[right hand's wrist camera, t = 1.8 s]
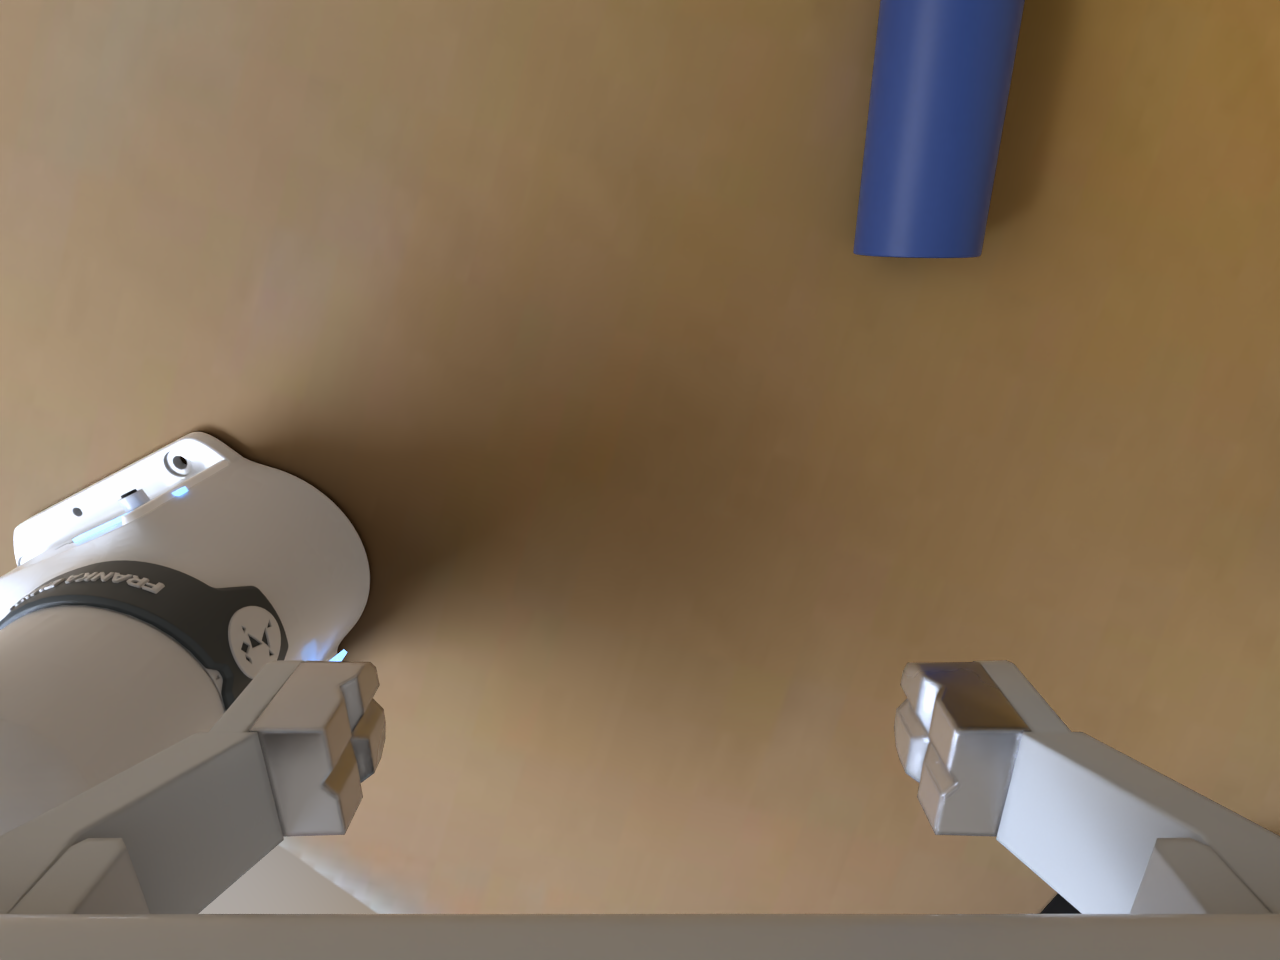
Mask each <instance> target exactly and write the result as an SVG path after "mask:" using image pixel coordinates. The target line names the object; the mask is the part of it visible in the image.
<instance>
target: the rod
mask: <svg viewBox="0 0 1280 960" xmlns="http://www.w3.org/2000/svg"><path fill="white" fill-rule="evenodd" d="M1024 2H1025V0H881V1H880V10H879V19H878V28H877V38H876V47H875V56H874V66H873V75H872V84H871V93H870V103H869V112H868V121H867V130H866V140H865V149H864V158H863V168H862V177H861V186H860V195H859V205H858V214H857V223H856V233H855V242H854V251H853V252H854V254H857V255H865V256H880V257H905V258H968V257H978V256H980V255H981V253H982V247H983V241H984V235H985V229H986V224H987V218H988V212H989V206H990V200H991V194H992V189H993V183H994V177H995V171H996V165H997V159H998V154H999V148H1000V142H1001V136H1002V130H1003V124H1004V119H1005V113H1006V107H1007V101H1008V95H1009V89H1010V84H1011V78H1012V72H1013V66H1014V60H1015V54H1016V49H1017V43H1018V37H1019V31H1020V25H1021V20H1022V14H1023V8H1024Z"/></svg>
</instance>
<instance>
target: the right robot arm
mask: <svg viewBox="0 0 1280 960" xmlns="http://www.w3.org/2000/svg"><path fill="white" fill-rule="evenodd" d="M180 456H182V457H183V458H185V459H186V461H187V465H186V464H184V463H183V462H182V461H181V459H180ZM14 553H15V558H16V563H17V566H18V567H16V568H15V569H13V570H11V571H9V572H8V573H6V574H4V575H3V576H1V577H0V960H1280V836H1278V835H1276V834H1275V833H1273V832H1271V831H1269V830H1267V829H1265V828H1263V827H1261V826H1259V825H1258V824H1256V823H1254V822H1252V821H1250V820H1248V819H1246V818H1244V817H1242V816H1240V815H1239V814H1237V813H1235V812H1233V811H1231V810H1229V809H1227V808H1225V807H1223V806H1222V805H1220V804H1218V803H1216V802H1214V801H1212V800H1210V799H1208V798H1206V797H1204V796H1203V795H1201V794H1199V793H1197V792H1195V791H1193V790H1191V789H1189V788H1187V787H1186V786H1184V785H1182V784H1180V783H1178V782H1176V781H1174V780H1172V779H1170V778H1168V777H1167V776H1165V775H1163V774H1161V773H1159V772H1157V771H1155V770H1153V769H1151V768H1150V767H1148V766H1146V765H1144V764H1142V763H1140V762H1138V761H1136V760H1134V759H1132V758H1131V757H1129V756H1127V755H1125V754H1123V753H1121V752H1119V751H1117V750H1115V749H1114V748H1112V747H1110V746H1108V745H1106V744H1104V743H1102V742H1100V741H1098V740H1096V739H1095V738H1093V737H1091V736H1089V735H1087V734H1085V733H1083V732H1071V731H1070V729H1069V728H1068V727H1067V726H1066V725H1065V724H1064V722H1063V721H1062V720H1061V719H1060V718H1059V716H1058V715H1057V714H1056V713H1055V712H1054V711H1053V709H1052V708H1051V707H1050V706H1049V705H1048V703H1047V702H1046V701H1045V700H1044V699H1043V698H1042V696H1041V695H1040V694H1039V693H1038V692H1037V690H1036V689H1035V688H1034V687H1033V686H1032V685H1031V683H1030V682H1029V681H1028V680H1027V679H1026V677H1025V676H1024V675H1023V674H1022V673H1021V672H1020V670H1019V669H1018V668H1017V667H1016V666H1015V665H1014V664H1013V663H1011V662H1009V661H1007V660H992V661H973V662H924V663H907V664H906V666H905V668H904V670H903V673H902V679H901V687H902V689H903V691H904V693H905V694H906V696H907V699H906V700H905V701H904V702H903V703H902V704H901V705H900V706H899V707H898V708H897V709H896V717H895V725H894V731H895V743H896V749H897V752H898V756H899V759H900V762H901V764H902V766H903V768H904V770H905V773H906V774H908V775H909V776H910V777H912V778H913V779H915V780H916V781H917V782H919V789H918V795H917V798H918V800H919V802H920V804H921V806H922V808H923V810H924V812H925V814H926V816H927V818H928V820H929V822H930V824H931V827H932V829H933V831H934V833H935V835H967V836H997V838H996V840H998V841H999V842H1000V843H1001V844H1002V845H1003V846H1005V847H1006V848H1007V849H1008V850H1009V851H1010V852H1011V853H1013V854H1014V855H1015V856H1016V857H1017V858H1018V859H1020V860H1021V861H1022V862H1023V863H1024V864H1025V865H1026V866H1028V867H1029V868H1030V869H1031V870H1032V871H1033V872H1034V873H1036V874H1037V875H1038V876H1039V877H1040V878H1041V879H1043V880H1044V881H1045V882H1046V883H1047V884H1048V885H1049V886H1051V887H1052V888H1053V889H1054V890H1055V891H1056V892H1058V893H1059V894H1060V895H1061V896H1062V897H1063V898H1064V899H1066V900H1067V901H1068V902H1069V903H1070V904H1071V905H1073V906H1074V907H1075V908H1076V909H1077V910H1078V911H1079V912H1081V913H1082V914H198V913H200V912H201V911H202V910H203V909H204V908H205V907H206V906H208V905H209V904H210V903H211V902H212V901H213V900H215V899H216V898H217V897H218V896H219V895H220V894H221V893H223V892H224V891H225V890H226V889H227V888H228V887H230V886H231V885H232V884H233V883H234V882H235V881H237V880H238V879H239V878H240V877H241V876H242V875H243V874H245V873H246V872H247V871H248V870H249V869H250V868H251V867H253V866H254V865H255V864H256V863H257V862H258V861H260V860H261V859H262V858H263V857H264V856H265V855H267V854H268V853H269V852H270V851H271V850H272V849H274V848H275V847H276V846H277V845H278V844H279V843H280V842H282V841H283V839H284V838H283V836H312V835H345V833H346V831H347V829H348V827H349V825H350V823H351V820H352V818H353V816H354V814H355V812H356V810H357V808H358V806H359V804H360V802H361V800H362V798H363V794H362V789H361V782H363V781H364V780H365V779H367V778H368V777H370V776H371V775H372V774H374V773H375V770H376V768H377V766H378V764H379V761H380V759H381V756H382V752H383V747H384V742H385V727H386V722H385V715H384V709H383V708H382V707H381V706H380V705H379V704H378V703H377V702H376V701H375V700H374V699H373V696H374V694H375V693H376V691H377V689H378V687H379V680H378V675H377V670H376V667H375V666H374V665H373V664H372V663H371V662H349V661H342V660H343V658H344V657H345V655H346V654H347V652H346V651H345V650H344V649H343V650H342V651H341V652H340V653H338V654H337V650H338V646H339V644H340V643H341V641H342V640H343V638H344V637H345V636H346V635H347V634H348V633H349V631H350V630H351V629H352V628H353V627H354V626H355V624H356V623H357V621H358V620H359V618H360V617H361V615H362V613H363V611H364V608H365V606H366V603H367V599H368V595H369V590H370V570H369V563H368V559H367V555H366V552H365V549H364V546H363V544H362V541H361V539H360V537H359V535H358V533H357V532H356V530H355V528H354V527H353V525H352V524H351V522H350V521H349V519H348V518H347V517H346V516H345V514H344V513H343V512H342V511H341V510H340V509H339V507H338V506H337V505H336V504H335V503H333V502H332V501H331V500H330V499H329V498H328V497H327V496H326V495H324V494H323V493H322V492H320V491H319V490H318V489H316V488H315V487H313V486H312V485H310V484H309V483H307V482H305V481H304V480H302V479H300V478H298V477H296V476H294V475H291V474H289V473H287V472H284V471H282V470H279V469H276V468H272V467H269V466H266V465H262V464H259V463H256V462H253V461H250V460H248V459H246V458H244V457H242V456H241V455H240V454H238V453H237V452H236V451H234V450H233V449H231V448H230V447H229V446H227V445H226V444H224V443H223V442H221V441H220V440H218V439H217V438H215V437H213V436H211V435H209V434H207V433H203V432H192V433H189V434H187V435H185V436H183V437H181V438H179V439H177V440H175V441H174V442H172V443H170V444H168V445H166V446H164V447H162V448H160V449H158V450H157V451H155V452H153V453H151V454H149V455H147V456H145V457H143V458H141V459H140V460H138V461H136V462H134V463H132V464H130V465H128V466H126V467H124V468H122V469H121V470H119V471H117V472H115V473H113V474H111V475H109V476H107V477H105V478H104V479H102V480H100V481H98V482H96V483H94V484H92V485H90V486H88V487H86V488H85V489H83V490H81V491H79V492H77V493H75V494H73V495H71V496H69V497H68V498H66V499H64V500H62V501H60V502H58V503H56V504H54V505H52V506H50V507H49V508H47V509H45V510H43V511H41V512H39V513H37V514H36V515H34V516H32V517H30V518H29V519H27V520H26V521H24V522H23V523H21V524H20V525H18V526H17V527H16V528H15V530H14Z"/></svg>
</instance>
